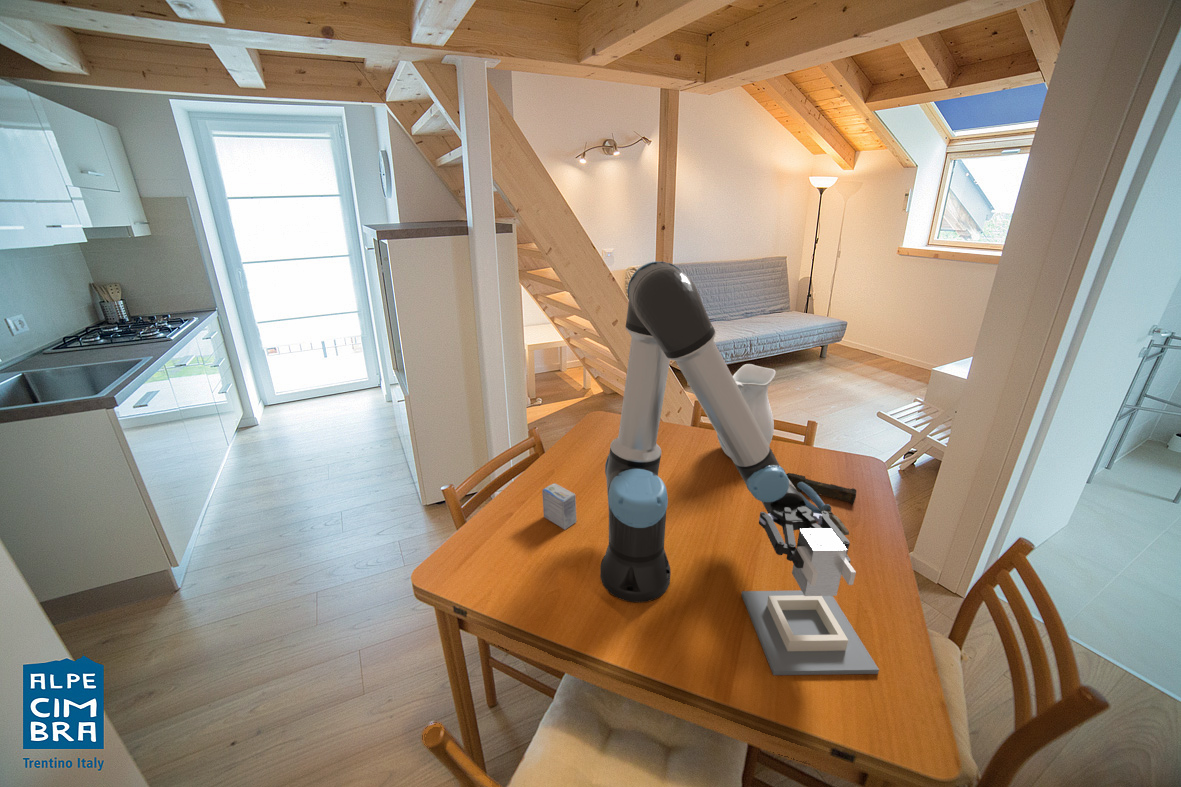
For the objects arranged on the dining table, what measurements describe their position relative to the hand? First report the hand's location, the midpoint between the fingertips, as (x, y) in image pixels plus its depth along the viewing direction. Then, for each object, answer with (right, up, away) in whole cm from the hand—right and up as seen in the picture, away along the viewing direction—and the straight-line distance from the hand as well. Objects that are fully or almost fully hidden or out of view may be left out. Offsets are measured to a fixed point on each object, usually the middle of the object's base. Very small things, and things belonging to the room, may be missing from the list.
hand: (833, 578), depth 79 cm
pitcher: (+6, +10, +73) cm, 74 cm away
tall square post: (0, -4, +7) cm, 8 cm away
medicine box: (-48, -2, +43) cm, 65 cm away
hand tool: (+22, +2, +53) cm, 57 cm away
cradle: (0, -14, +11) cm, 18 cm away
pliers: (+18, -2, +43) cm, 46 cm away
